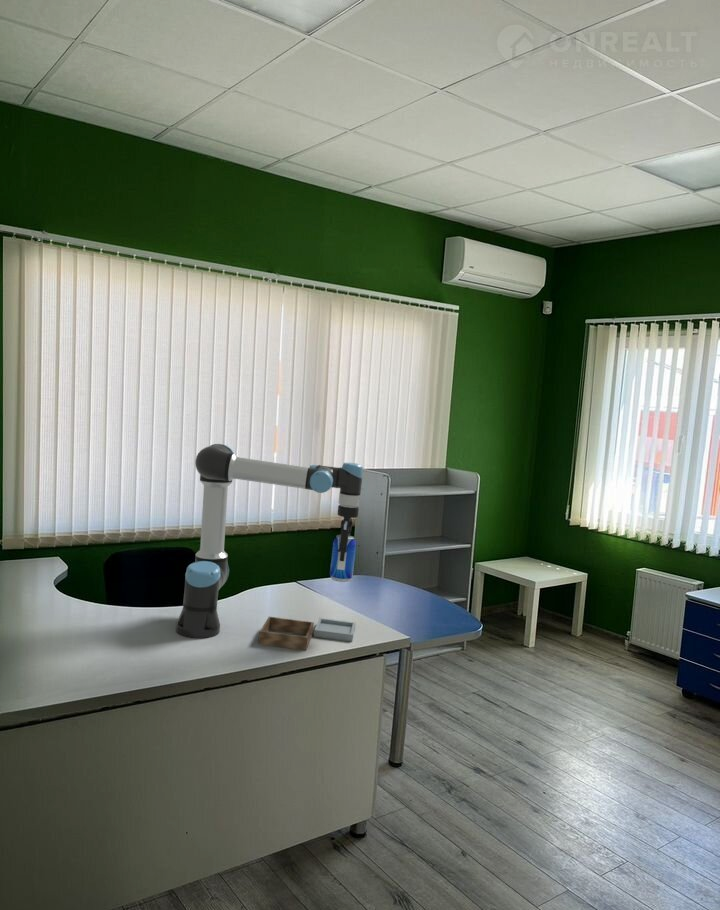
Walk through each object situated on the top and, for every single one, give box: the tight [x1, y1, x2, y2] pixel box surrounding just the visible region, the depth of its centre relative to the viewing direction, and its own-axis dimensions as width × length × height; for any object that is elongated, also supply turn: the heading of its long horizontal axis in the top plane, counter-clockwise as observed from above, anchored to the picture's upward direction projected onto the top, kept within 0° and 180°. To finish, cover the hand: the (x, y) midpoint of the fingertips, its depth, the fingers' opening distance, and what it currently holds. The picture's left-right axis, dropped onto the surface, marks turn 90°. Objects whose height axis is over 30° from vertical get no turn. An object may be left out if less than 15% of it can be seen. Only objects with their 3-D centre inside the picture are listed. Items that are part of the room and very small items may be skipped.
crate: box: [258, 616, 315, 651], centre depth 254 cm, size 17×17×4 cm
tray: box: [313, 617, 357, 643], centre depth 266 cm, size 14×14×2 cm
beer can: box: [329, 534, 357, 583], centre depth 263 cm, size 8×8×16 cm
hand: (342, 566), depth 264 cm, fingers closed on beer can, 8 cm apart
